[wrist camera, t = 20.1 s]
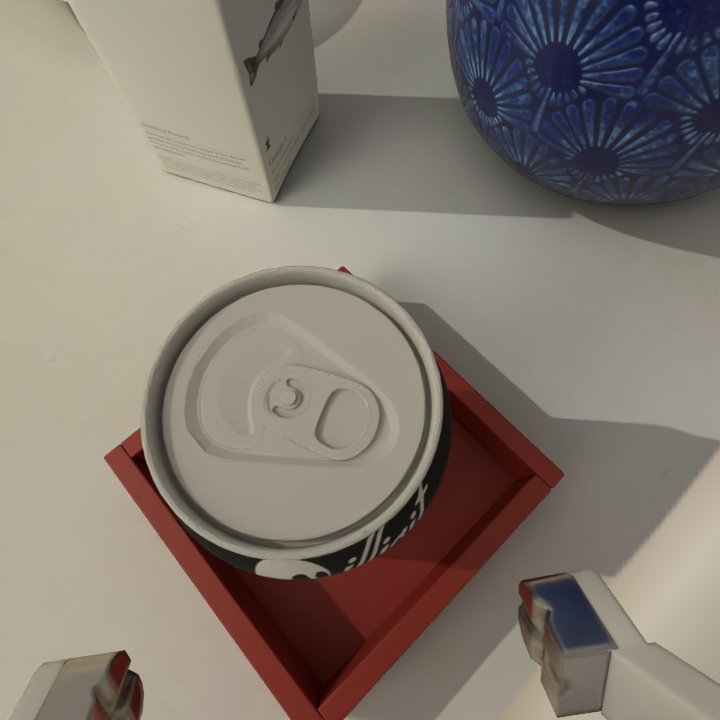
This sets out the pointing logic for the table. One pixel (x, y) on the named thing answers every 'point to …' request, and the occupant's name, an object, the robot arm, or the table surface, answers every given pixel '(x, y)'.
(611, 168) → the planter
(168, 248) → the table surface
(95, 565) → the table surface
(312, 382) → the beverage can
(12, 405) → the table surface
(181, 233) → the table surface
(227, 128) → the white packaging box
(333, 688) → the tray
